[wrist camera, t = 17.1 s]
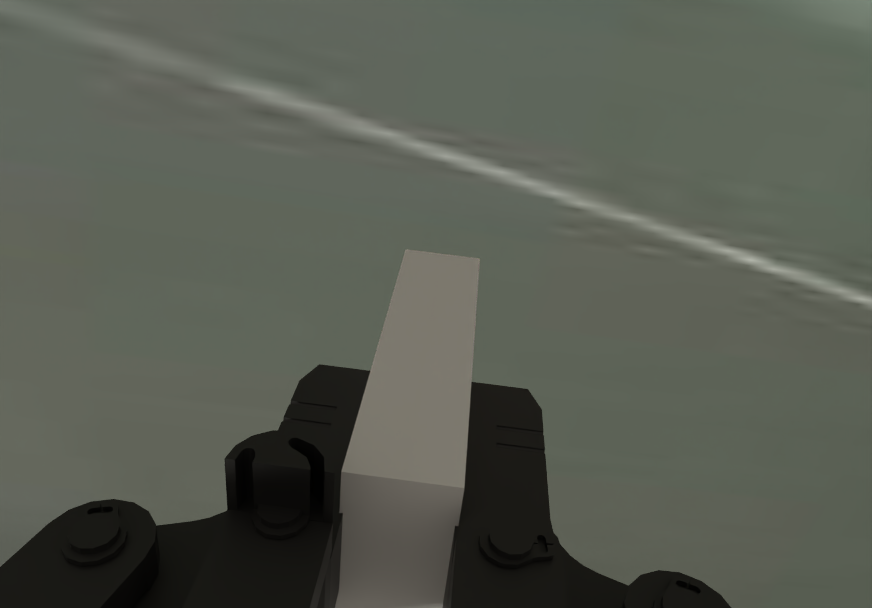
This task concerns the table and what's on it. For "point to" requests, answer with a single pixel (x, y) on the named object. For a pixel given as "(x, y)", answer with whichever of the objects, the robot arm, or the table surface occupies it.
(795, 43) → the table surface
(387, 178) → the table surface
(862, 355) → the table surface
